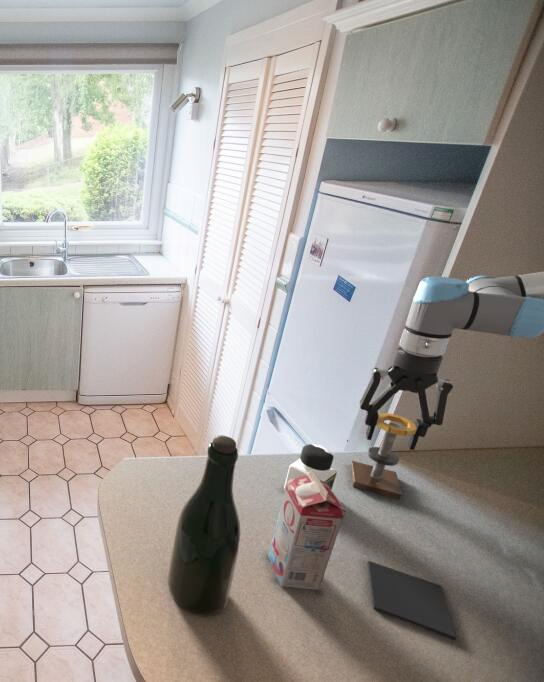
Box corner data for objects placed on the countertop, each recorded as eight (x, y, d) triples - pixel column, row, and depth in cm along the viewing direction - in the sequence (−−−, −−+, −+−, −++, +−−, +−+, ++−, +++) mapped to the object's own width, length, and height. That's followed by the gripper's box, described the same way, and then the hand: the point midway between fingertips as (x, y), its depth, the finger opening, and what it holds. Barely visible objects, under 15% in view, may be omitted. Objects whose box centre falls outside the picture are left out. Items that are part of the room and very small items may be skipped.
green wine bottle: (221, 571, 86) (252, 424, 73) (233, 623, 77) (271, 465, 64) (164, 563, 88) (185, 418, 75) (169, 613, 78) (194, 457, 66)
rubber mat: (440, 587, 82) (441, 585, 82) (455, 640, 74) (456, 637, 73) (367, 562, 88) (368, 560, 87) (373, 609, 79) (374, 606, 79)
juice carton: (280, 585, 83) (307, 491, 75) (268, 556, 89) (291, 465, 81) (319, 590, 82) (350, 495, 74) (303, 559, 88) (331, 468, 80)
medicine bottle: (314, 507, 101) (327, 464, 96) (283, 489, 106) (294, 447, 102) (330, 495, 105) (343, 452, 100) (299, 478, 110) (310, 437, 105)
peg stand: (394, 476, 110) (415, 421, 104) (399, 499, 103) (422, 441, 97) (350, 465, 114) (367, 411, 108) (352, 486, 107) (371, 429, 101)
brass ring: (411, 422, 104) (413, 418, 103) (417, 439, 98) (419, 434, 97) (373, 414, 107) (374, 410, 106) (376, 430, 101) (378, 425, 101)
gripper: (364, 348, 97) (338, 437, 106) (489, 367, 87) (449, 464, 96) (361, 336, 103) (336, 422, 112) (478, 353, 93) (441, 445, 102)
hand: (389, 441), depth 104 cm, fingers closed on brass ring, 7 cm apart
